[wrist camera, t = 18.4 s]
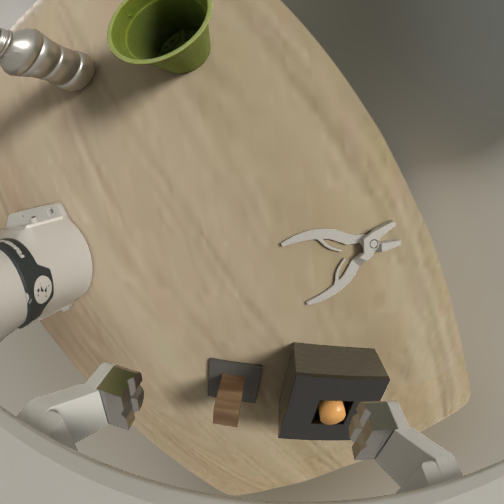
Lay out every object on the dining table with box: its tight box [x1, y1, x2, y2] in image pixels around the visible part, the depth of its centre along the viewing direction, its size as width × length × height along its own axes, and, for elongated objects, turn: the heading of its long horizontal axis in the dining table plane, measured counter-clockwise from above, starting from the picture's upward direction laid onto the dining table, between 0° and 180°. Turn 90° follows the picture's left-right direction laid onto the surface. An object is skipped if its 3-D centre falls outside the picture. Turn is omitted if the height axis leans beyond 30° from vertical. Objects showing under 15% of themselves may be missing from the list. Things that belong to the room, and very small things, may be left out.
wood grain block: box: [213, 373, 245, 427], centre depth 40 cm, size 4×4×8 cm
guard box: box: [278, 342, 390, 440], centre depth 39 cm, size 13×13×8 cm
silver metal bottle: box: [0, 28, 95, 91], centre depth 23 cm, size 6×7×20 cm
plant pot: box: [107, 0, 213, 74], centre depth 26 cm, size 12×12×11 cm
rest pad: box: [208, 358, 262, 403], centre depth 44 cm, size 8×8×1 cm
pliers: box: [281, 220, 401, 305], centre depth 37 cm, size 10×2×15 cm
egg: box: [318, 400, 346, 425], centre depth 37 cm, size 4×4×6 cm
